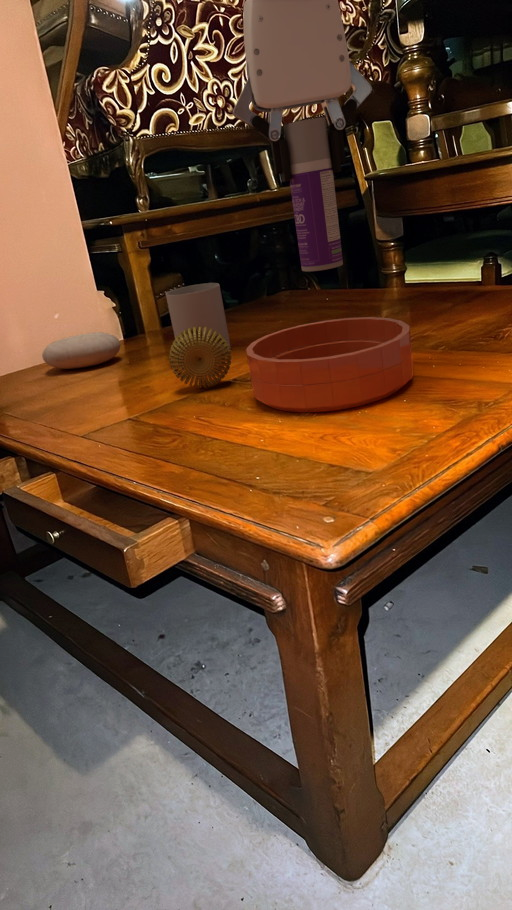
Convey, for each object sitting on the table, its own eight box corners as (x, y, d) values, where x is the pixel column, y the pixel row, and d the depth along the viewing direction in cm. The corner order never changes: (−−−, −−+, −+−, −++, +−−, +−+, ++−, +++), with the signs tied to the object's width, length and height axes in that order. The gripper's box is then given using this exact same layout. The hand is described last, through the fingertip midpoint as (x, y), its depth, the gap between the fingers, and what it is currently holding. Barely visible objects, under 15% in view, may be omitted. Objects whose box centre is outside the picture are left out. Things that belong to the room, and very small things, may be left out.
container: (293, 272, 77) (273, 126, 72) (315, 264, 81) (297, 124, 75) (330, 270, 75) (312, 118, 69) (350, 261, 78) (334, 116, 73)
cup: (203, 361, 104) (190, 295, 100) (167, 359, 109) (154, 295, 106) (241, 346, 109) (230, 282, 105) (206, 344, 115) (194, 283, 111)
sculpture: (236, 377, 92) (225, 318, 89) (236, 386, 88) (224, 324, 86) (177, 387, 93) (165, 328, 90) (174, 396, 89) (161, 335, 86)
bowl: (389, 355, 90) (385, 309, 88) (435, 395, 73) (431, 339, 71) (249, 380, 90) (241, 335, 88) (261, 427, 73) (252, 372, 71)
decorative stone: (38, 378, 111) (30, 348, 109) (57, 364, 119) (49, 335, 118) (115, 367, 110) (107, 336, 108) (128, 353, 118) (122, 324, 116)
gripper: (363, -26, 71) (380, 164, 78) (201, 2, 71) (231, 190, 78) (381, -49, 64) (398, 162, 71) (201, -18, 64) (234, 190, 71)
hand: (310, 174), depth 74 cm, fingers closed on container, 4 cm apart
